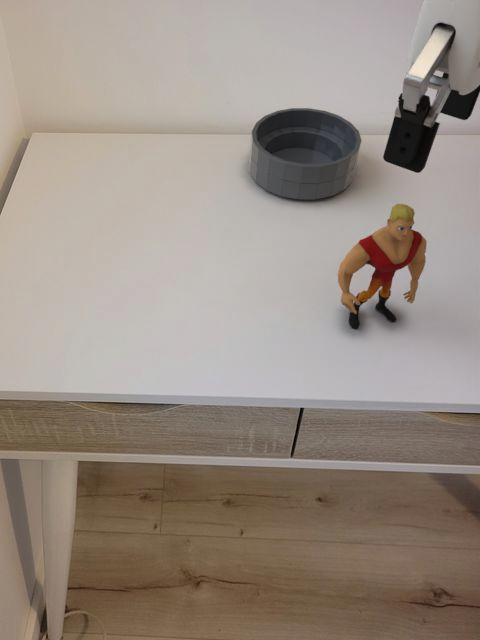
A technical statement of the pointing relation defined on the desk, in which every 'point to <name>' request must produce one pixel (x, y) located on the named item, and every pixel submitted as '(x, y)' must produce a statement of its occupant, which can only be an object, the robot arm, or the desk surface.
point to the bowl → (303, 153)
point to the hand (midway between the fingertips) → (427, 138)
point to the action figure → (384, 262)
